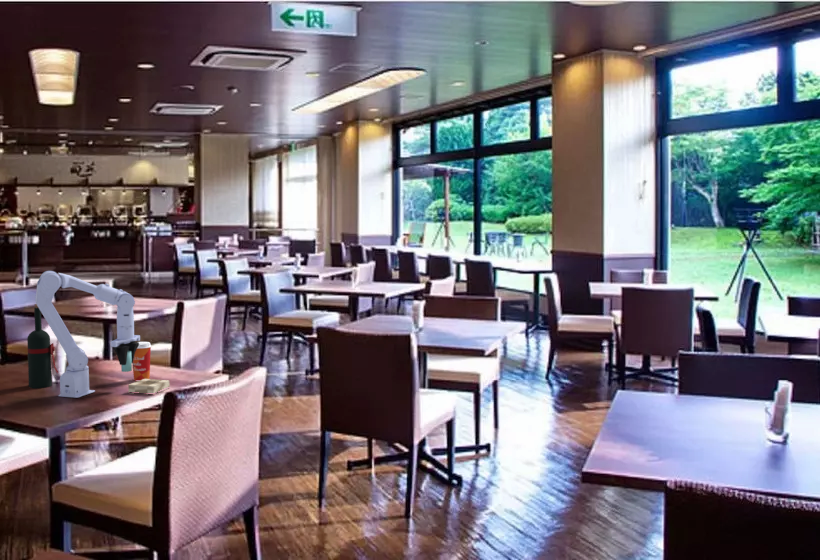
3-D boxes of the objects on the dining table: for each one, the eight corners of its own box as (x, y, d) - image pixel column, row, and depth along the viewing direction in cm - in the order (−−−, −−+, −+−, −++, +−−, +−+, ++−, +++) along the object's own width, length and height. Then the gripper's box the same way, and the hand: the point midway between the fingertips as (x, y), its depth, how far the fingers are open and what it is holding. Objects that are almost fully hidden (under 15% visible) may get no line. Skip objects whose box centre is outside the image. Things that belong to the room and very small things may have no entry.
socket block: (153, 394, 274) (153, 386, 274) (128, 393, 277) (128, 384, 277) (169, 388, 284) (169, 380, 284) (145, 386, 286) (144, 378, 286)
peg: (128, 372, 280) (127, 352, 279) (119, 371, 281) (118, 352, 280) (133, 370, 283) (133, 350, 283) (125, 369, 284) (124, 350, 283)
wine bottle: (56, 387, 284) (53, 305, 281) (26, 388, 282) (22, 305, 279) (61, 382, 292) (58, 302, 289) (31, 384, 290) (28, 303, 287)
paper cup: (126, 380, 297) (125, 343, 295) (142, 376, 303) (141, 340, 302) (141, 382, 293) (140, 345, 292) (157, 378, 300) (156, 342, 298)
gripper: (122, 329, 272) (123, 368, 274) (147, 323, 286) (147, 360, 288) (105, 328, 274) (106, 367, 276) (130, 322, 288) (131, 359, 289)
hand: (126, 363), depth 282 cm, fingers closed on peg, 3 cm apart
